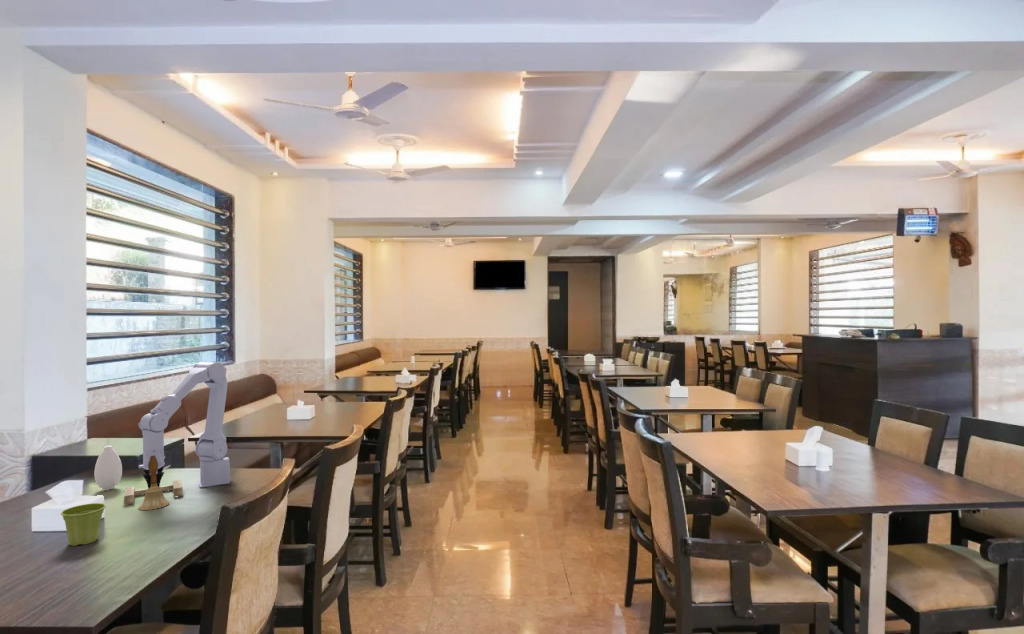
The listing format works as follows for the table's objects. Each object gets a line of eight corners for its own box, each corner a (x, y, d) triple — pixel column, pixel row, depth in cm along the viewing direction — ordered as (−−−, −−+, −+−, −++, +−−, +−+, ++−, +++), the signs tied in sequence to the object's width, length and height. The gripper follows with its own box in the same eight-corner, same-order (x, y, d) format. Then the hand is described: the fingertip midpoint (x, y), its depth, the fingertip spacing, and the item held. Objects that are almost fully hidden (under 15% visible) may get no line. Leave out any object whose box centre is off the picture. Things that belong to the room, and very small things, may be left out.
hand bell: (158, 510, 169) (158, 458, 169) (132, 510, 169) (131, 459, 169) (175, 501, 177) (174, 452, 178) (149, 502, 177) (149, 453, 178)
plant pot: (114, 537, 147) (114, 504, 147) (76, 550, 138) (76, 516, 139) (90, 533, 150) (90, 501, 151) (52, 546, 141) (51, 512, 142)
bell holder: (181, 488, 193) (181, 479, 193) (182, 496, 183) (182, 487, 183) (125, 497, 184) (125, 488, 184) (124, 505, 174) (124, 496, 174)
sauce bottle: (90, 491, 192) (90, 439, 192) (116, 485, 198) (115, 435, 199) (100, 494, 188) (100, 441, 188) (126, 488, 194) (125, 437, 195)
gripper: (139, 448, 183) (139, 488, 183) (138, 456, 171) (138, 499, 170) (164, 445, 187) (164, 485, 186) (164, 452, 175) (165, 495, 174)
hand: (153, 492), depth 179 cm, fingers open, 6 cm apart
